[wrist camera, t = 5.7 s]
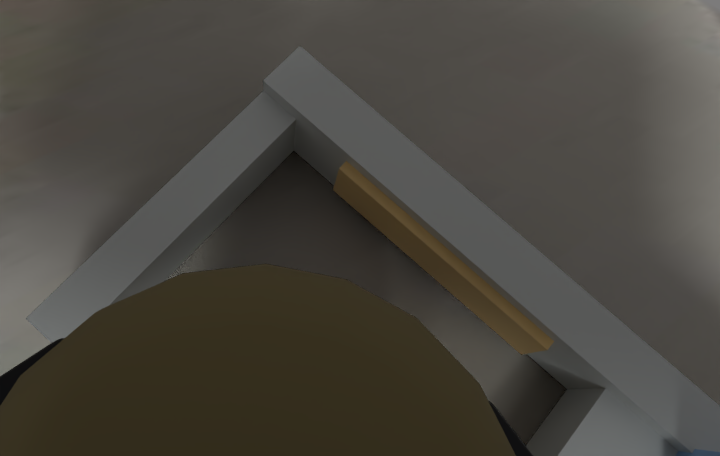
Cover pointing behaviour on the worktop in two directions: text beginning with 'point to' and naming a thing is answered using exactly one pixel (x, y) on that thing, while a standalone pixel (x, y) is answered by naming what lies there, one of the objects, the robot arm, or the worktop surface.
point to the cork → (250, 377)
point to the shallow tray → (423, 245)
